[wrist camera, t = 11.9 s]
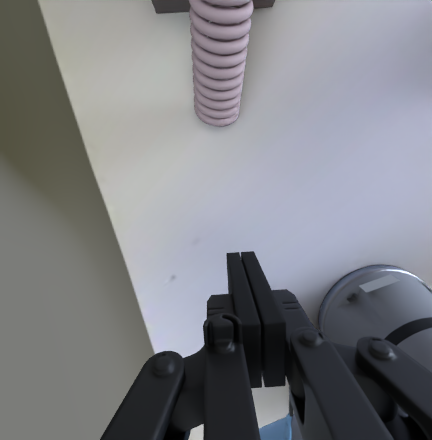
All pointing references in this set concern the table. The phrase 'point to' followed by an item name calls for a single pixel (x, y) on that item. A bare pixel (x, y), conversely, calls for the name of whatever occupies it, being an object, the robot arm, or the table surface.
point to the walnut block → (169, 3)
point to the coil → (219, 57)
